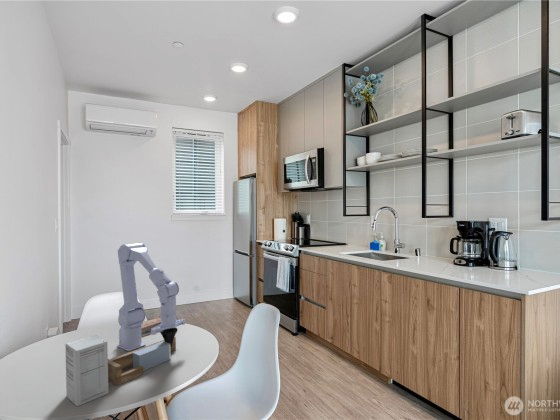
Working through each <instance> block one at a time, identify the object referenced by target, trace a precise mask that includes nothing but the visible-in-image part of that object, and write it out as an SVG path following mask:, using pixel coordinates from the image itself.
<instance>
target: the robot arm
mask: <svg viewBox="0 0 560 420" xmlns="http://www.w3.org/2000/svg"><path fill="white" fill-rule="evenodd" d="M148 251H149V249H148V248H147V246H146V244H145V243H143V242H137V243H129V244H127V243H126V244H121V245H120V246H119V248H118V249H117V257H118V264H119V271H120V278H121V279H120V280H121V287H122V296H123V305H122V306H121V307H120V308H119V309H118V318H117V320H118V324H119V326H120V328H119V329H118V330H119V331H118V344H116V346H117V347H118V348H119V349H123V350H124V351H127V352H132V351H135V350H137V349H140V348H143V347H146V346H147V343H144V342H142V341H143V340H142V338H143V337H141V324H143V322H145V320H146V317H147V315H146V311H145V309H144V305H143V303H141V302H139V300H138V292H137V291H138V290H137V286H136V285H137V284H136V275H135V269H134V268H135V267H134V266H135V264H136V263H137V262H139V264H141V266H142V267H143V268H144V269H145V270H146V271H147V272H148V273H149V276H148V277H149V280H150V281H151V282H152V284H153V285H154V286H155V287H156V289H157V291H156V293H157V296H158V298H159V302H160V318H161V324H160V325H158V326H156V327H154V328H152V329H151V334H150V335H153V336H155V335H157V334H158V333H160V334H161V336H162V339H163V340H164V341H165V342H167V343H170V348H171V347H172V343H173V339H174V337H176V334H177V332H178V328H177V327H179V326H181V325H183V326H185V324H186V319H185V318H180V319H177V295H179V291H180V287H179V284H178V282H176V281H175V280H174V281H173V280H172V279H170V278H169V277H168V276H167V274H166V273H165V271H164V270H163V269H162V268H160V267H159V268H157V266H156V265H155V263H154V261H153V260H152V258H151V257H150V255H149V253H148Z"/></svg>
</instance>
